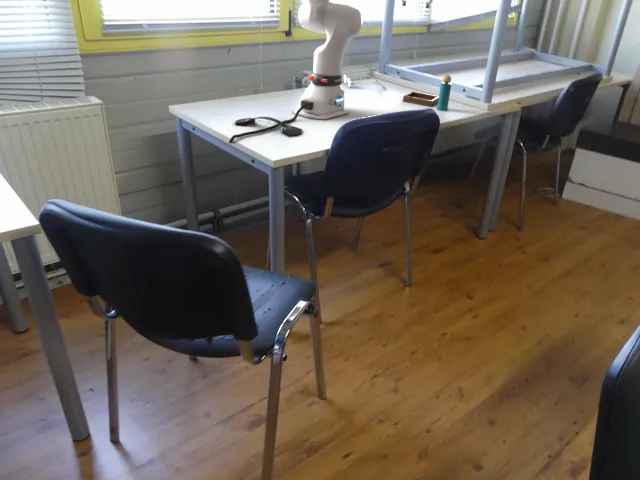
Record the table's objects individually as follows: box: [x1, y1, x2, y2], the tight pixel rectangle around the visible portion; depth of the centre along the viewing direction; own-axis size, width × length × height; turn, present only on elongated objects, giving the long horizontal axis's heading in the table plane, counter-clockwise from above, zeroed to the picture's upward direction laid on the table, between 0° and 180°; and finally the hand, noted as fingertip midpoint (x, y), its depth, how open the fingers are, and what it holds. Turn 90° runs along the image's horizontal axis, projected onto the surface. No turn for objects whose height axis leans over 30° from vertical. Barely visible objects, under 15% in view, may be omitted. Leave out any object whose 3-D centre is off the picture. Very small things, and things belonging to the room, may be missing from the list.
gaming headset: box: [234, 116, 303, 137], centre depth 192 cm, size 9×25×3 cm, turn 67°
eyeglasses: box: [343, 74, 387, 90], centre depth 264 cm, size 15×18×4 cm
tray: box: [402, 91, 439, 107], centre depth 246 cm, size 11×13×2 cm
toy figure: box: [436, 74, 452, 112], centre depth 234 cm, size 4×4×14 cm
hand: (415, 6), depth 217 cm, fingers open, 8 cm apart
